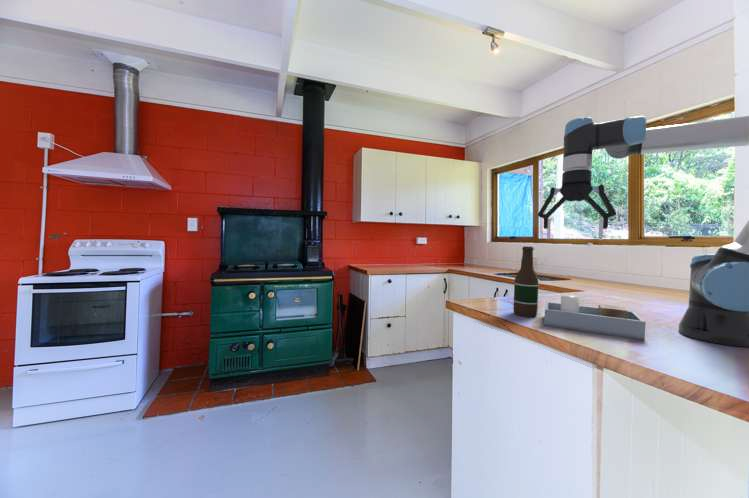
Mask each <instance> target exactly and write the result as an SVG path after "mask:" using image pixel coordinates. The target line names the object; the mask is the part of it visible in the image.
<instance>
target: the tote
mask: <svg viewBox="0 0 749 498" xmlns="http://www.w3.org/2000/svg"><path fill="white" fill-rule="evenodd" d="M544 305H545V306H544V317H543V318H544V321H543V326H545V327H553V328H557V329H558V328H559V329H567V330H572V331H580V332H586V333H593V334H601V335H606V336H613V337H620V338H627V339H633V340H639V341H640V340H641V341H646V339H645V337H646V321H645V320H644V319H643V318H642V317H641V316H640V315H639V314H638V313H637V312H635V311H631V310H627V319H623V318H615V317H607V316H599V315H598V309H599V307H595V306H586V305H580V308H579V313H574V312H566V311H561V302H560V303H557V302H552V301H551V302H549V301H546V302H545V304H544Z"/></svg>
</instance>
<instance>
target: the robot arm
mask: <svg viewBox="0 0 749 498" xmlns="http://www.w3.org/2000/svg"><path fill="white" fill-rule="evenodd" d="M745 146H749V115H746V116H737V117H729V118H721V119H711V120H705V121H698V122H697V121H696V122H690V123H682V124H681V123H680V124H673V125H672V124H671V125H664V126H656V127H647V117H646V116H644V115H638V116H629V117H625V118H620V119H615V120H610V121H604V122H598V123H596V122H595V119H594V118H593V117H589V116H586V117H578V118H574V119H570V120H569V121H568V122H566V125H564V136H563V155H562V157H563V158H562V172H563V173H562V175H561V176H562V177H561V179H562V180H561V187H560V188H559V187H557V188H556V187H551V188H550V191H549V194H548V197H547V198H546V199H545V201H544V203H543V205H542V206H541V208H540V210H539V211H538V213H537V216H538V218H542V220H543V228H544V229H546V230H547V234H546V235H547V236H546V239H547V240H550V239H551V224H552V223H551V221H552V219H551V216H552V215H553V214H554V213H555V212H556V211H557V209H559V208H560V207H561V206H562V205H563V204H564V203H565V202H566V201H567V202H569V203H571V202H572V203H573V202H582V201H585V202H586V203H587V204H589V205H590V206H591V208H592V209H594V211H596V212H597V214H599V215H600V216H601V217H599V222H598V236H597V239H598V240H599V241H603V237H604V230H607V229H608V227H609V226H608V225H609V218H611V217H614V216H616V215H617V212H616V210H615V208H614V206H613V205H612V203H611V201H610V199H609V198H608V196H607V194H606V192H605V188H604V187H605V186H604V184H599V185H596V186H592V170H591V169H592V167H593V166H592V165H593V152H594V150H595V151H597V150H603V149H605V152H606V153H607V155H608V156H609V157H610V158H613V159H617V160H618V159H624V158H627V157H629V156H637V155H647V154H648V155H649V154H660V153H670V152H672V153H673V152H684V151H696V150H709V149H718V148H720V149H721V148H722V149H723V148H731V147H733V148H734V147H745ZM592 191H594V193H595V194H598V196H599V199H600V200H601V201H602V203H603V205H604V208H606V211H607V212H606V211H605V210H604V209H603V208H602V207H601V206H600V205H599V204H598V203H597V202H596V201H595V200H594V199H593V198H592V197H591V196H590V194H591V193H592ZM558 193H560V194H561V195H562V197H561V198H560V199H559V200H558V201H557V202H556V203H555V204H554V205H552V207H551V208H550V209H549V210H548V211H547V212H546V210H547V208H548V207H549V205H550V204H551V202H552V200H553V198H554V196H557V195H558ZM545 212H546V213H545ZM689 267H690V280H689V291H688V292H689V294H688V295H689V297H688V307H687V309H686V311H685V313H684V315H683V316H682V318H681V320H680V322H679V323H678V333H679V334H682V335H683V336H687V337H690V338H693V339H697V340H701V341H705V342H708V343H709V342H710V343H713V344H714V343H715V344H721V345H725V346H726V345H727V346H732V347H733V346H735V347H741V348H742V347H743V348H749V219H748V220H747V222H746V223H745V225H744V226H743V228H742V229H741V231H740V232H739V234H738V235H737V237H736V238H735V239H734V241H733V242H731V243H729V244H725V245H722V246H719V248H718V250H717V251H716V252H715V253H710V254H697V255H694V256H693V257H692V258H691V262H690V264H689Z"/></svg>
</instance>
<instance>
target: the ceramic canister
mask: <svg viewBox="0 0 749 498" xmlns="http://www.w3.org/2000/svg"><path fill="white" fill-rule="evenodd" d="M580 301H581V297H580V296H578V295H574V294H573V295H572V294H561V295H560V304H561V311H566V312H574V313H579V308H580V306H581V302H580Z"/></svg>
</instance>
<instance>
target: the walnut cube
mask: <svg viewBox="0 0 749 498" xmlns="http://www.w3.org/2000/svg"><path fill="white" fill-rule="evenodd" d="M598 308H599V309H598V315H599V316H607V317H615V318H623V319H627V311H628V309H626V308H625V307H624V306H620V305H619V306H618V305H610V304H609V305H608V304H600V303H598Z"/></svg>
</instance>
